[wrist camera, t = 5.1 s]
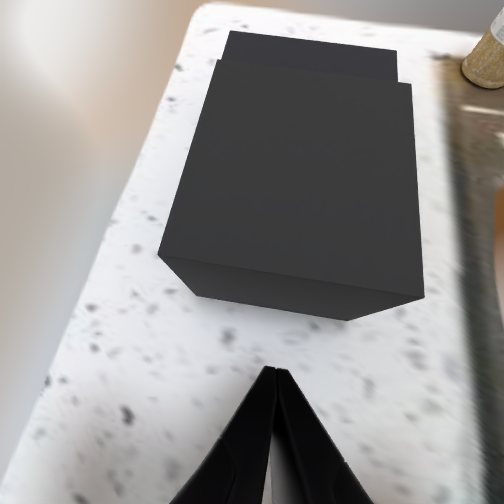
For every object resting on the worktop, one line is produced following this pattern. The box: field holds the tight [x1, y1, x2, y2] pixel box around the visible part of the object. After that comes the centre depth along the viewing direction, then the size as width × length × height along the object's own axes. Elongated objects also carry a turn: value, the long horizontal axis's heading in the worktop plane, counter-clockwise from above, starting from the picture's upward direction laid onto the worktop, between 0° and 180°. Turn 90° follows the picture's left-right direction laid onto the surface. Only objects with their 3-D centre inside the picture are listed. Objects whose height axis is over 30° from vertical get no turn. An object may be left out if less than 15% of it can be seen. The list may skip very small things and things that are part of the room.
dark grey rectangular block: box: [221, 31, 398, 82], centre depth 20 cm, size 5×12×5 cm, turn 81°
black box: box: [158, 59, 425, 321], centre depth 15 cm, size 11×10×8 cm
